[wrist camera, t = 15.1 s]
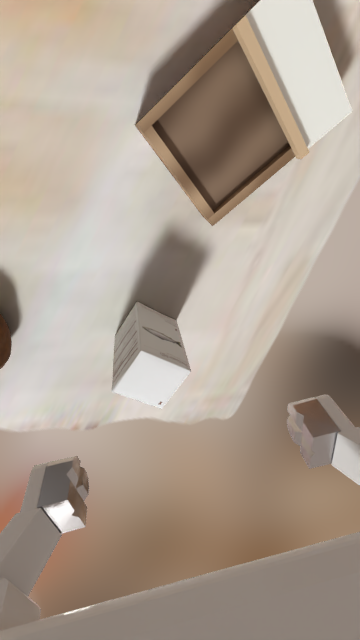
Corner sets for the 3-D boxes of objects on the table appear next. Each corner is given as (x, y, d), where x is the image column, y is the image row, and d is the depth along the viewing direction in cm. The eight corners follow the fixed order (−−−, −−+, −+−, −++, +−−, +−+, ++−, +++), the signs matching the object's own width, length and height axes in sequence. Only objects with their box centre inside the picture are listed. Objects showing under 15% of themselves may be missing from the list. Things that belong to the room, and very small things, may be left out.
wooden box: (135, 125, 34) (137, 123, 30) (269, -10, 30) (294, -34, 26) (203, 216, 40) (212, 225, 36) (321, 114, 36) (347, 111, 32)
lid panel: (229, 30, 27) (235, 24, 26) (294, -34, 26) (304, -45, 24) (293, 158, 34) (301, 159, 32) (347, 111, 32) (359, 110, 31)
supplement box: (177, 319, 48) (194, 372, 37) (153, 353, 50) (161, 411, 40) (136, 298, 45) (141, 349, 34) (112, 336, 47) (110, 394, 37)
